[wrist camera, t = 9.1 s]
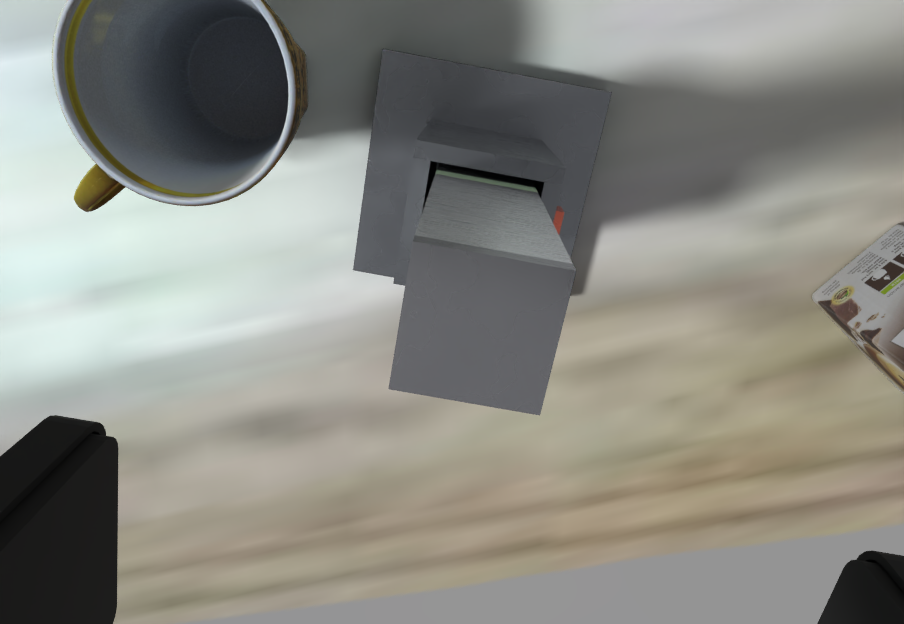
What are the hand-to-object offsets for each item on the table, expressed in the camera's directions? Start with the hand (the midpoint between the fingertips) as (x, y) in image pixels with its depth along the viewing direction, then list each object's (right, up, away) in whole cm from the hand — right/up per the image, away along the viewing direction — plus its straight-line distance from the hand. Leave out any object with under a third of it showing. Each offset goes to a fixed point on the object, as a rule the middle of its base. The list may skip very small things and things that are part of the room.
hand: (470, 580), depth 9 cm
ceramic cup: (-12, +15, +29) cm, 35 cm away
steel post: (+1, +8, +23) cm, 25 cm away
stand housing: (+1, +11, +30) cm, 32 cm away
